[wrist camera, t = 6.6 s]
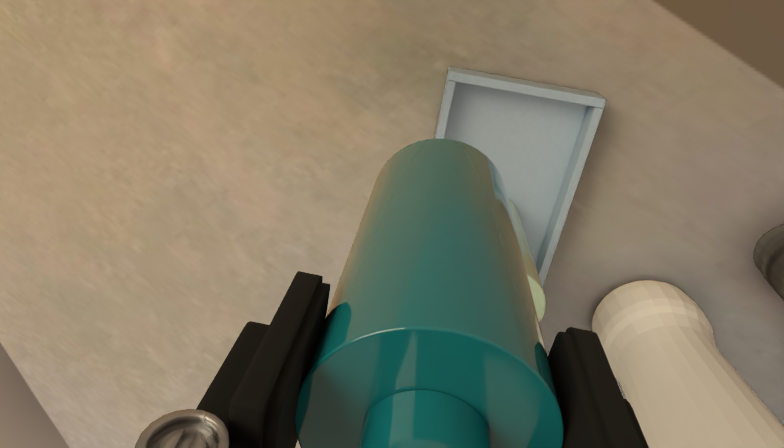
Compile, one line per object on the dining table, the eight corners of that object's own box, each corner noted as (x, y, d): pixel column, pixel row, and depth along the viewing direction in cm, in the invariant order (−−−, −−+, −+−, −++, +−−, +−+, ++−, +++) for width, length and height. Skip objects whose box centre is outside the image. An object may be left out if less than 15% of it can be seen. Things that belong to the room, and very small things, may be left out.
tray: (448, 65, 35) (448, 70, 33) (598, 92, 35) (607, 99, 33) (397, 319, 44) (395, 334, 42) (515, 341, 44) (518, 357, 42)
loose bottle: (384, 125, 18) (240, 450, 6) (522, 153, 18) (677, 542, 6) (363, 246, 21) (228, 669, 8) (487, 271, 21) (543, 739, 8)
